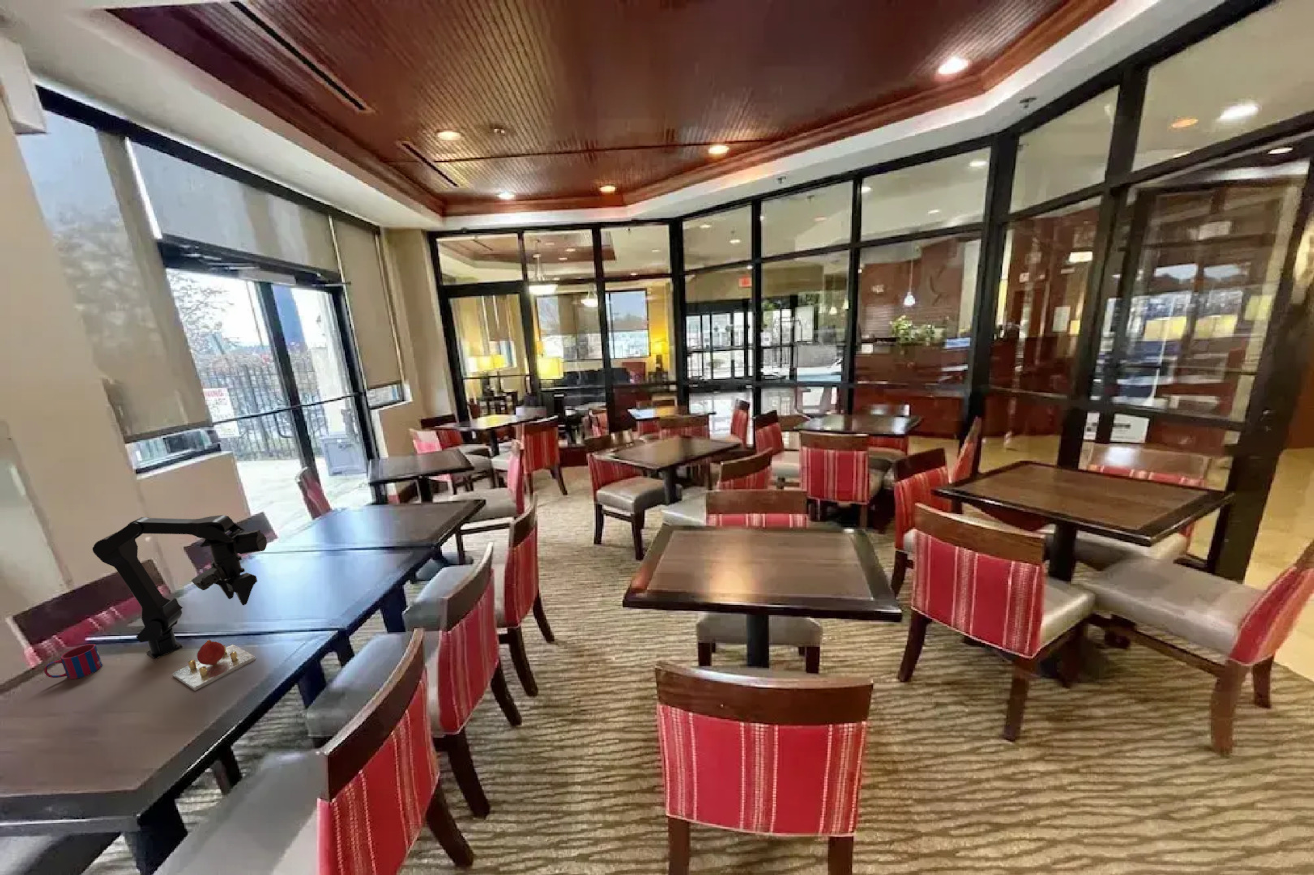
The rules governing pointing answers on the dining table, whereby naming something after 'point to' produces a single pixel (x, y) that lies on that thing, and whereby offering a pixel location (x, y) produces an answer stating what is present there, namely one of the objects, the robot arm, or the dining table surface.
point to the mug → (78, 662)
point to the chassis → (213, 668)
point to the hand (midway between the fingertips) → (237, 601)
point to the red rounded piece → (210, 653)
